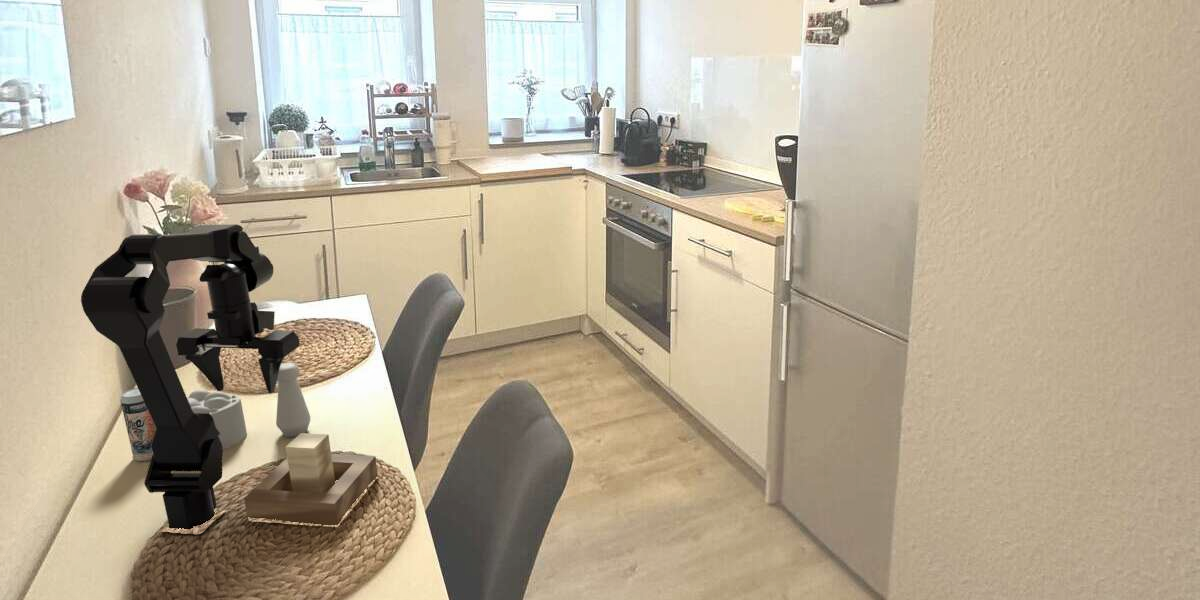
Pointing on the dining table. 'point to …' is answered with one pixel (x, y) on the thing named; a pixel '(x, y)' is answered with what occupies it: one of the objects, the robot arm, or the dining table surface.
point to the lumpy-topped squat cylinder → (221, 414)
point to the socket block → (307, 507)
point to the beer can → (138, 424)
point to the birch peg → (310, 463)
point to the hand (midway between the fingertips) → (246, 391)
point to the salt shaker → (291, 402)
